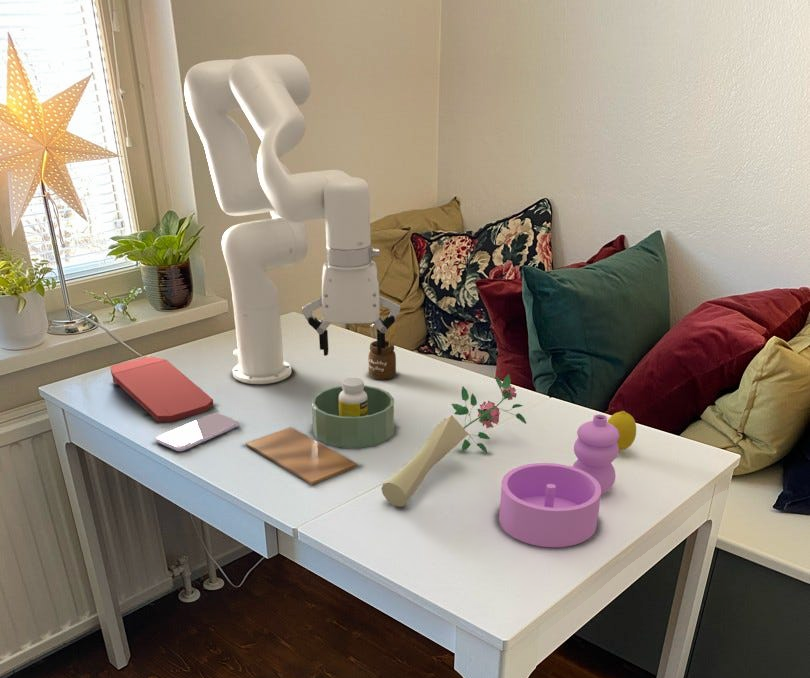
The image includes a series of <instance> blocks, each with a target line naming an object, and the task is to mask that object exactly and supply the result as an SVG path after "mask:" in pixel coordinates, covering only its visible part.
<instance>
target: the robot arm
mask: <svg viewBox="0 0 810 678" xmlns="http://www.w3.org/2000/svg"><path fill="white" fill-rule="evenodd" d="M183 84H184V86H183V87H184V90H183V91H184V99H185V102H186V107H187V111H188V113H189V114H188V115H189V116H190V118H191V121H192V123H193V125H194V127H195V129H196V132H197V133H198V135H199V137H200V140H201V142H202V144H203V147H204V150H205V155H206V159H207V163H208V168H209V172H210V175H211V180H212V184H213V187H214V191H215V195H216V198H217V201H218V205H219V206H220V209H221V210H222V211H223V213H225V215H228V216H230V217H231V216H233V217H241V216H243V217H244V216H249V215H256V214H265V213H269V214H270V216H271V218H266V219H259V220H252V221H246V222H241V223H238V224H234V225H232V226H230V227H229V228H227V230H226V231H225V232H224V233H223V235H222V236H221V237H222V239H221V250H222V254H223V258H224V263H225V265H226V270H227V273H228V278H229V284H230V290H231V300H232V307H233V317H234V325H235V336H236V345H237V349H234V350H233V352H232V354H233V355H234V356H235V357H237V364H235V365H234V366H233V368H232V376H233V378H234V379H235V380H237V381H238V382H241V383H244V384H251V385H268V384H274V383H278V382H281V381H284V380H285V379H287V378H289V377H290V376H291V374H292V366H291V364H290V363H289V362H287V361H285V360H284V349H283V348H284V347H283V333H282V320H281V305H280V296H279V291H278V288H277V286H276V284H275V283H274V282H273V281H272V280H271V278H270V277H269V276H268V275H267V271H270V270H274V269H279V268H284V267H290V266H294V265H297V264H300V263H301V262H303V261H304V260H305V259H306V257H307V254H308V246H309V245H308V244H309V243H308V236H307V233H306V232H307V230H306V226H305V222H307V221H313V220H321V219H324V225H325V243H326V261H325V262H323V265H322V273H321V296H319V297H318V298H315V299H314V300H312V301H310V302H309V303H307V304H304V305H302V308H301V313H302V315H303V316H304V318H305V319H306V321H307V323H308V325H309V326H311V327H312V328H313V330H315V331H316V333H317V334H318V340H319V342H318V343H319V350H320V351H323V356H324V357H327V356H329V333H328V327H329V326H331V324H334V325H338V324H339V325H340V324H341V325H342V324H347V325H348V324H373V326H374V327H375V328H376V334H377V335H376V339H377V340H376V341H377V353H378V354H379V355H381V349H383V348H385V340H386V333H387V330H388V329H389V328H391V326H392V325H393V324H395V321H396V319H397V317H398V316H399V314H400V312H401V305H400V304H398V303H397V302H395V301H393V300H390V299H388V298H387V297H384V296H382V295H380V282H379V274H378V273H379V272H378V268H377V264H376V261H374V259H375V258H379V257H380V248H375V247H374V246H372V241H371V240H372V239H371V200H370V199H371V198H370V197H371V193H370V187H369V184H368V182H367V181H366V180H365V179H363V178H360V177H356V176H351V175H349V174H348V173H346V172H345V171H343V170H340V169H327V170H326V169H325V170H315V171H308V172H297V173H291V171H290V169H289V168H288V167H287V166H286V164H285V163H283V162H281V161H280V158H282V157H283V156H285V155H286V154H288V153H289V152H290V151H292V150H293V149H294V148H295V147H296V146H297V145H299V143H300V142H301V141H302V139H303V138H304V135H305V132H306V129H307V122H306V119H305V116H304V115H303V113H302V111H301V110H300V109H299V106H302V105H304V104H305V103H306V102H307V101H308V99H309V97H310V96H311V90H312V83H311V76H310V74H309V71H308V69H307V67H306V65H305V64H304V62H302V59H300V58H299V57H297V56H296V55H293V54H290V53H289V54H287V53H285V54H284V53H282V54H258V55H250V56H246V57H242V58H238V59H236V58H235V59H215V60H207V61H203V62H200V63H197V64H195V65H193V66H191V67H190V68H189V69H188V71H187V73H186V74H185V77H184V83H183ZM231 111H243V113H244V115H245V116H246V118H247V120H248V122H249V123H250V125H251V126H252V128H253V129H254V132H255V133H256V135H257V136H258V138H259V139H260V141H261V142H260V145H259V147H258V151H257V156H256V157H257V158H256V161H255V160H254V158H253V156H252V152H251V149H250V145H249V143H250V142H249V140H248V137H247V135H246V133H245V131H244V130H243V129H242V128H241V126H240V125H239V124H238V123H237V122H236V121H235V120H234V118H232V117H231V116H230V115H229V114H228V113H227V112H231ZM320 307H321V313H322V318H321V320H318V318H317V317H315V316H314V314H313V311H316V310H317V309H319V308H320ZM381 307H383V308H384V309H385V308H386V309H387V310H389V311H390V312H389V314H388V315H387V316H386V317H385V319H383V318H382V317H381V316H380V315H381Z"/></svg>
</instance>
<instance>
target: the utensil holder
mask: <svg viewBox="0 0 810 678" xmlns="http://www.w3.org/2000/svg"><path fill="white" fill-rule="evenodd" d="M373 326H374V324H373V323H371V325H370V326H369V328H372V327H373ZM396 327H397V323H395V322H394V323H393V324H392V325H391V326H390V329H389V330H390V331H389V334H388V339H389V340H386V339H385V348H383V349H381V355H379V354H378V353H377V338H374V336H373V335H374V334H373V330H370V332H369V334H370V336H371V338H372V341H371V342H370V344H369V353H368V359H367V360H368V361H367V362H368V364H367V365H368V366H367V367H368V374H369V377H370V378H371V379H374V380H380V381H384V380H385V381H386V380H391V379H393V378H394V377H395V376H396V373H397V356H396V352H395V343H394V342H393V341H392V339H393V338H394V336H395V333H396ZM373 328H374V330H377V327H376V326H374V327H373ZM374 333H375V336H377V332H374ZM375 339H376V340H375Z"/></svg>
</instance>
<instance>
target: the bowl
mask: <svg viewBox="0 0 810 678" xmlns="http://www.w3.org/2000/svg"><path fill="white" fill-rule="evenodd" d="M341 391H343V389H342V385H339V386H338V385H337V386H332V387H329V388H327V389H324V390H321V391H320V392H318V393H317V394H315V395H314V396H313V398H312V400H311V418H312V433H313V434H314V436H315V438H316V439H317V440H318V441H320V442H322V443H324V444H326V445H328V446H333V447H336V448H337V447H338V448H341V449H343V448H344V449H346V448H347V449H360V448H368V447H372V446H376V445H379V444H382V443H384V442H386V441H387V440H389V439H390V438H391V437H392V436H393V435H394V433H395V432H394V431H395V398H394V397H393V396H392V394H391V393H390V392H389V391H386V390H384V389H382V388H380V387H376V386H372V385H365V384H364V389H363V391H365V392H366V394H367V399H368V415H366V416H359V417H343V416H339V394H340V392H341Z"/></svg>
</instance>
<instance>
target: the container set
mask: <svg viewBox="0 0 810 678" xmlns="http://www.w3.org/2000/svg"><path fill="white" fill-rule="evenodd" d="M592 418H593V419H592V420H589V421H587V422H584V423H581V424H580V425H579V427H578V429H577V431H576V435H577V438H576V439H575V441H574V444H573V452H574V455H575V457H576V458H577V459H576V461H575V462H574V463H572V465H571V466H570V465H566V464H563V463H555V462H536V463H535V462H534V463H527V464H523V465H519V466H516V467H515V468H512V469H511V470H509V471H508V472H506V473H505V474H504V475H503V477H502V479H501V485H500V486H501V487H500V500H499V515H498V522H499V525H500V527H501V529H502V530H503V531H504V532H505V533H507V535H508V536H510V537H512V538H513V539H515V540H517V541H520V542H522V543H524V544H529V545H532V546H536V547H544V548H567V547H573V546H575V545H579V544H581V543H584V542H586V541H587V540H589V539H590V538H591V537H593V535H594V534H595V532H596V531H597V530H596V529H597V524H598V518H599V511H600V504H601V497H602V495H604V494H605V493H606V492H607V491H609V490H611V488H612V487H613V485H614V484H615V481H616V470H615V467H614V465H613V464H612V462H615V460H616V459H617V457H618V455H619V453H620V451H619V447H618V444H617V440H618V439H619V432H618V429H617V428H616V427H614V426H613V425H612V424H610V423H608V422H607V421H608V416H607V415H604V414H593V417H592Z"/></svg>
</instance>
